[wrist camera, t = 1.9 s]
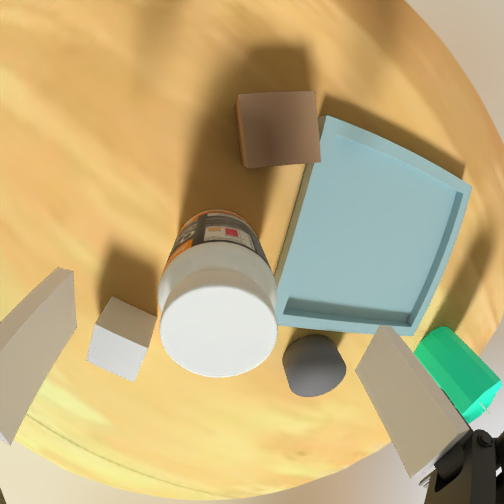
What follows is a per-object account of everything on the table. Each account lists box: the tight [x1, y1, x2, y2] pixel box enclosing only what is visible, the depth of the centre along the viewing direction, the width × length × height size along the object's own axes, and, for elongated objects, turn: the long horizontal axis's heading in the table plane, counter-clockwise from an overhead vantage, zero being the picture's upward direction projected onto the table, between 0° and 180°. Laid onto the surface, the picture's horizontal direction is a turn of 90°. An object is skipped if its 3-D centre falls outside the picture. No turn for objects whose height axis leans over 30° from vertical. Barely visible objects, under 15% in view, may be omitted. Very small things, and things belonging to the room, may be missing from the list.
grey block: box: [87, 296, 157, 382], centre depth 19 cm, size 4×4×4 cm
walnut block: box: [235, 91, 321, 169], centre depth 16 cm, size 4×4×4 cm
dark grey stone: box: [282, 334, 346, 397], centre depth 23 cm, size 5×5×3 cm
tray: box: [274, 115, 472, 336], centre depth 20 cm, size 15×15×2 cm
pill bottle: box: [158, 209, 278, 377], centre depth 15 cm, size 6×6×10 cm
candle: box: [414, 326, 502, 424], centre depth 21 cm, size 6×6×12 cm
